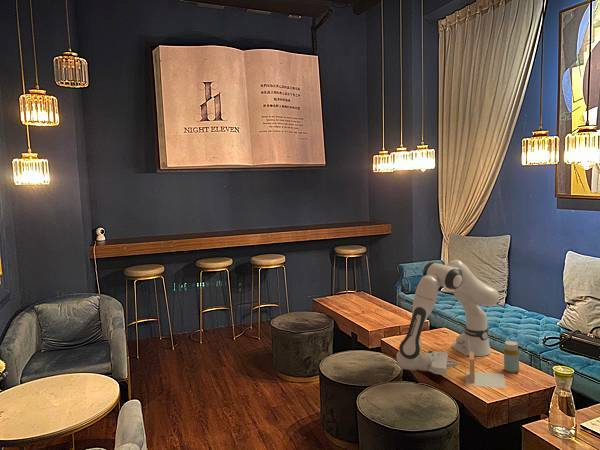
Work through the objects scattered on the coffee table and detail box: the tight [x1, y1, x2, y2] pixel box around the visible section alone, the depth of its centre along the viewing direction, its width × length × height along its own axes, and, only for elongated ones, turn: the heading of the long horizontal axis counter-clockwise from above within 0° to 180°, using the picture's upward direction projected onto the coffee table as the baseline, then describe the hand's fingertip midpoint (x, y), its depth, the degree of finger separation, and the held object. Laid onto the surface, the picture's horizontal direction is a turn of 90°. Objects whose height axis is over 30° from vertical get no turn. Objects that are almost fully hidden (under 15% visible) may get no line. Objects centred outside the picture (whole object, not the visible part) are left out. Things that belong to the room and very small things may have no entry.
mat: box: [465, 370, 507, 389], centre depth 239 cm, size 18×16×1 cm
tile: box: [469, 352, 476, 383], centre depth 240 cm, size 2×10×12 cm, turn 160°
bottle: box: [503, 340, 520, 374], centre depth 246 cm, size 7×7×15 cm
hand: (456, 364), depth 243 cm, fingers closed
